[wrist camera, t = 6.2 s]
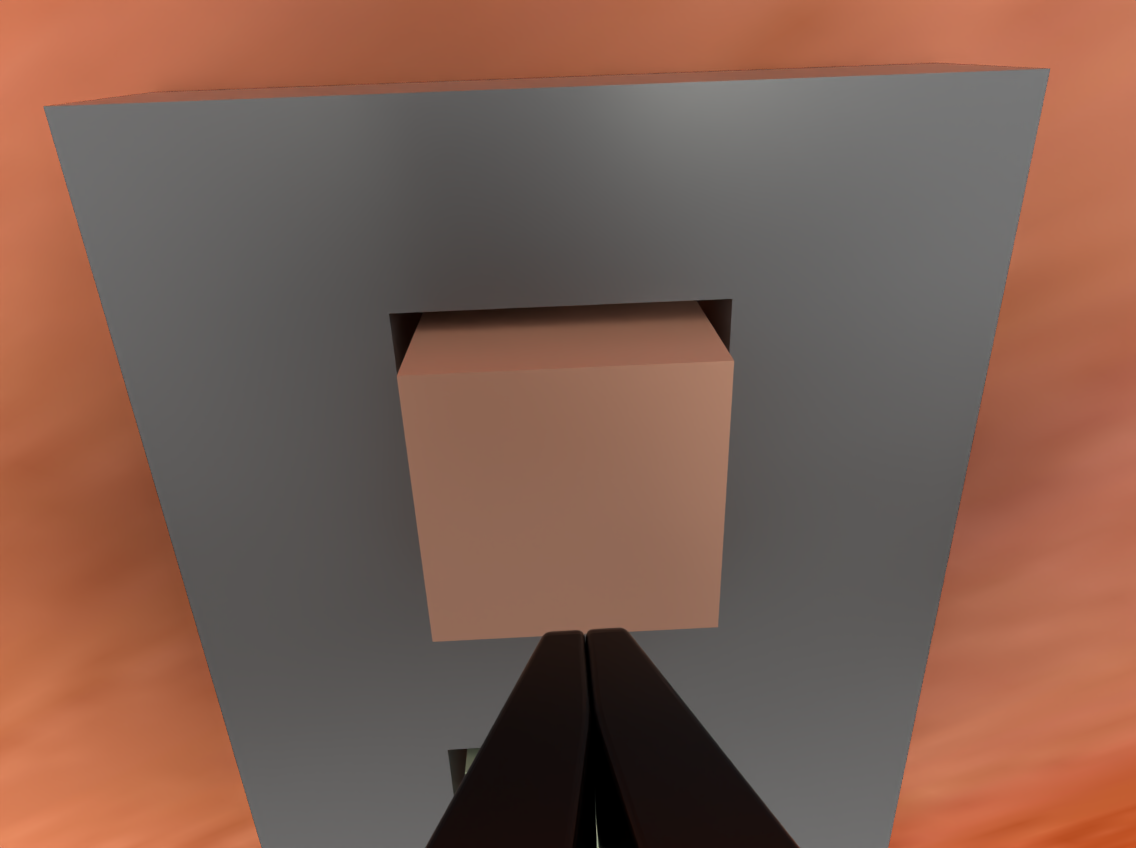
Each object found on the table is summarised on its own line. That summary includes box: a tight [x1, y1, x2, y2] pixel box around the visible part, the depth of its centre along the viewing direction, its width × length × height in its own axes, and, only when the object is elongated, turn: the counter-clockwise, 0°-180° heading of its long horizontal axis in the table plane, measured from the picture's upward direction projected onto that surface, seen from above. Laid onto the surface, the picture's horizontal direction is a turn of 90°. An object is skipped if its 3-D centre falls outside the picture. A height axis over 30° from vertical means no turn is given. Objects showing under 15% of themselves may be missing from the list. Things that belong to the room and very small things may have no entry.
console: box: [43, 63, 1050, 848], centre depth 16 cm, size 12×26×3 cm, turn 2°
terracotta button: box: [397, 300, 734, 642], centre depth 11 cm, size 4×4×2 cm
